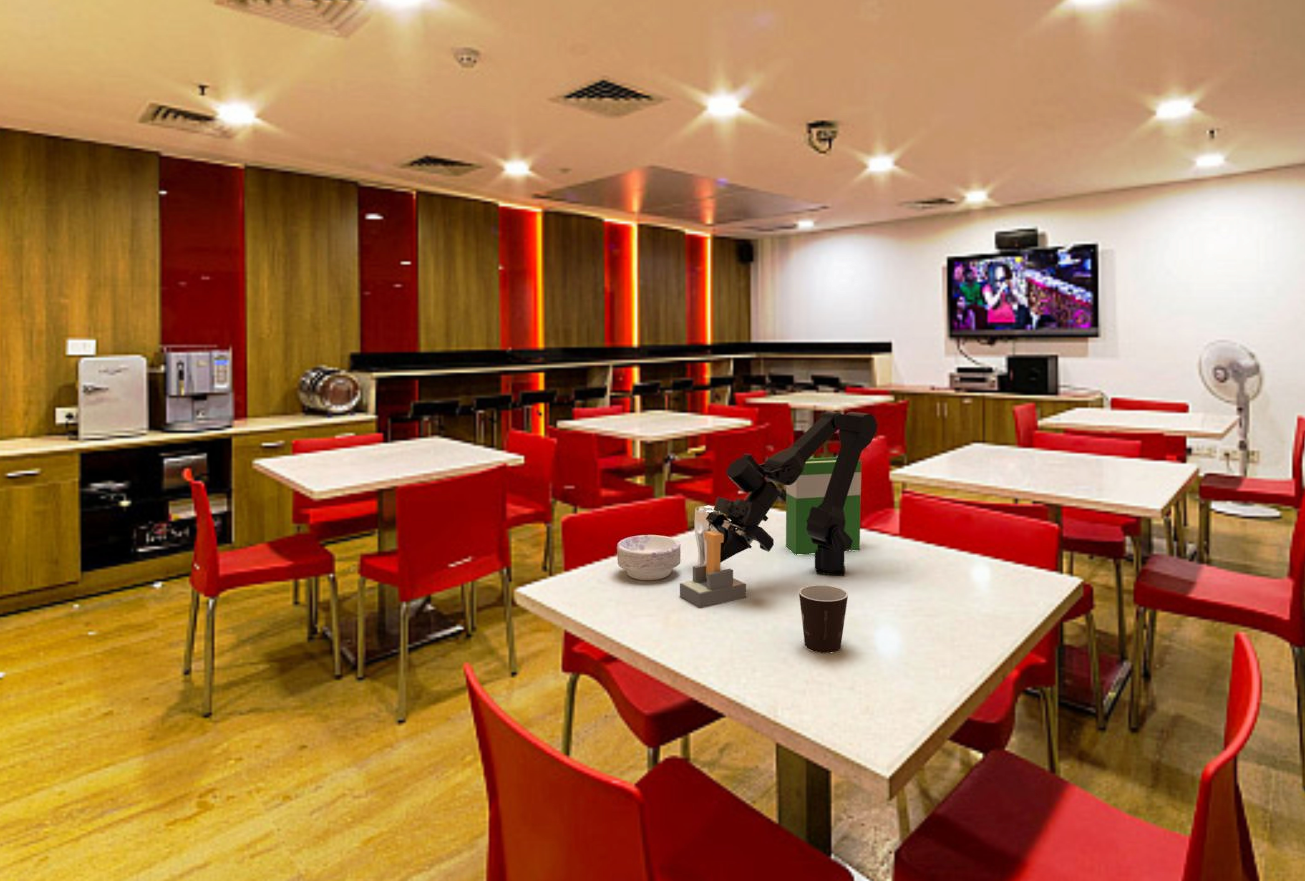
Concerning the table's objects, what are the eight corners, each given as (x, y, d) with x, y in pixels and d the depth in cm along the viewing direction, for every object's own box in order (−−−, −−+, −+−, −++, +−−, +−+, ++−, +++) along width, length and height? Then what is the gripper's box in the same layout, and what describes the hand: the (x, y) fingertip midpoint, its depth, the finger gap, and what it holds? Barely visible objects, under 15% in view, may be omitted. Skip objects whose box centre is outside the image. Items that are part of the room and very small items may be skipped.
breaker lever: (713, 578, 160) (714, 530, 159) (722, 583, 157) (723, 534, 156) (703, 580, 159) (704, 531, 158) (712, 585, 156) (713, 535, 155)
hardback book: (847, 543, 199) (849, 456, 196) (859, 550, 192) (861, 460, 188) (785, 547, 196) (786, 459, 193) (795, 555, 189) (796, 463, 185)
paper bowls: (668, 587, 165) (667, 554, 164) (607, 581, 171) (606, 548, 170) (689, 568, 179) (689, 537, 178) (632, 562, 185) (632, 532, 184)
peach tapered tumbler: (721, 573, 175) (721, 512, 173) (693, 571, 176) (692, 511, 174) (724, 564, 182) (724, 505, 180) (697, 563, 183) (696, 505, 181)
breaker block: (725, 586, 165) (725, 559, 164) (746, 597, 158) (746, 568, 157) (680, 596, 159) (679, 567, 158) (699, 607, 152) (699, 577, 151)
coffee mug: (809, 632, 138) (809, 582, 137) (853, 642, 133) (854, 590, 132) (783, 654, 129) (784, 600, 127) (830, 666, 124) (831, 609, 123)
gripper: (711, 476, 166) (671, 531, 163) (761, 490, 150) (718, 551, 147) (740, 505, 171) (702, 558, 168) (791, 521, 155) (751, 581, 151)
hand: (717, 561), depth 158 cm, fingers closed, pressing on breaker lever
